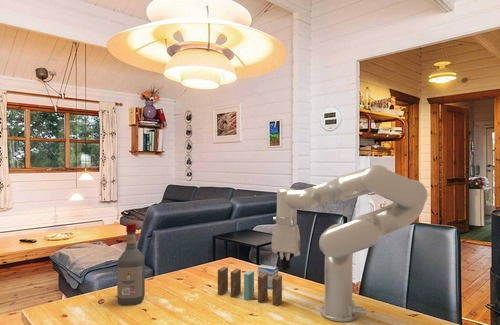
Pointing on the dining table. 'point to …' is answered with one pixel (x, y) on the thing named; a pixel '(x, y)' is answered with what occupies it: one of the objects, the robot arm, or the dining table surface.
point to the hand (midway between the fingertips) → (285, 269)
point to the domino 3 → (248, 285)
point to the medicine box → (271, 273)
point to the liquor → (131, 271)
